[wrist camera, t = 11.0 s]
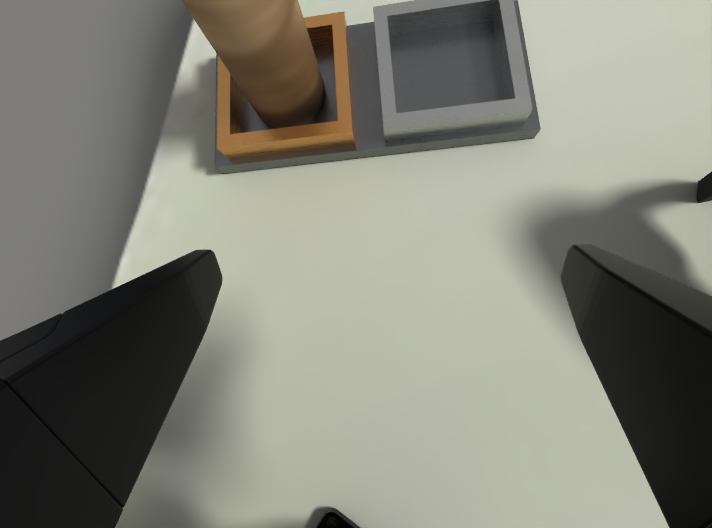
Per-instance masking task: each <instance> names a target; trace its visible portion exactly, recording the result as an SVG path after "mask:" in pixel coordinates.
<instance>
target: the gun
mask: <svg viewBox="0 0 712 528" xmlns="http://www.w3.org/2000/svg"><path fill="white" fill-rule="evenodd" d="M711 200H712V172H710V173H709V174H708V175H706V176H705V177H704V178H702V179H701V180H700V181H698V189H697V202H698V203H701V202H706V201H711Z"/></svg>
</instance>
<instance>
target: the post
mask: <svg viewBox="0 0 712 528" xmlns="http://www.w3.org/2000/svg"><path fill="white" fill-rule="evenodd" d="M182 2H183V3H184V5H185V6H186V8H187V9H188V11H189V12H190V14H191V15H192V17H193V18H194V20H195V21H196V23H197V24H198V26H199V27H200V29H201V30H202V32H203V33H204V35H205V36H206V38H207V39H208V41H209V42H210V44H211V45H212V47H213V48H214V50H215V51H216V53H217V54H218V56H219V57H220V59H221V60H222V62H223V63H224V65H225V66H226V68H227V69H228V71H229V72H230V74H231V75H232V77H233V78H234V80H235V81H236V83H237V84H238V86H239V87H240V89H241V90H242V92H243V93H244V95H245V96H246V98H247V99H248V101H249V102H250V104H251V105H252V107H253V108H254V110H255V111H256V113H257V114H258V116H259V117H260V118H261V119H262V120H263V121H264V122H265V123H266V124H268V125H270V126H272V127H275V128H285V127H293V126H301V125H303V124H305V123H307V122H308V121H309V120H311V119H312V118H313V117H314V116H315V115H316V114H317V113H318V111H319V110H320V108H321V106H322V104H323V101H324V97H325V86H324V82H323V79H322V75H321V72H320V69H319V66H318V63H317V60H316V56H315V53H314V50H313V47H312V44H311V40H310V37H309V34H308V31H307V28H306V25H305V21H304V18H303V15H302V12H301V9H300V6H299V2H298V0H182Z"/></svg>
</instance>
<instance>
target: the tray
mask: <svg viewBox="0 0 712 528" xmlns="http://www.w3.org/2000/svg"><path fill="white" fill-rule="evenodd" d="M373 12H374V22H370V23H364V24H357V25H350V26H347V25H346V19H345V13H344V12H338V13H332V14H325V15H319V16H313V17H306V18H304V21H305V25H306V28H307V31H308V34H309V37H310V40H311V44H312V47H313V50H314V53H315V56H316V60H317V63H318V66H319V69H320V72H321V75H322V79H323V82H324V86H325V97H324V101H323V104H322V106H321V108H320V110H319V111H318V113H317V114H316V115H315V116H314V117H313V118H312V119H311V120H309V121H308V122H307V123H305V124H303V125H301V126H293V127H285V128H275V127H272V126H270V125H268V124H266V123H265V122H264V121H263V120H262V119H261V118H260V117H259V116H258V114H257V113H256V111H255V110H254V108H253V107H252V105H251V104H250V102H249V101H248V99H247V98H246V96H245V95H244V93H243V92H242V90H241V89H240V87H239V86H238V84H237V83H236V81H235V80H234V78H233V77H232V75H231V74H230V72H229V71H228V69H227V68H226V66H225V65H224V63H223V62H222V60H221V59H220V57H219V56H218V54H217V56H216V137H215V167H216V168H217V169H218V170H219V171H220V172H221V173H222V174H225V173H234V172H242V171H251V170H260V169H269V168H277V167H286V166H295V165H303V164H312V163H321V162H330V161H338V160H347V159H356V158H364V157H373V156H382V155H391V154H399V153H408V152H417V151H425V150H434V149H443V148H452V147H460V146H469V145H478V144H486V143H495V142H504V141H513V140H521V139H530V138H535V136H536V135H537V133H538V132H539V131H540V123H539V118H538V112H537V106H536V101H535V95H534V90H533V84H532V78H531V73H530V67H529V61H528V56H527V50H526V45H525V39H524V33H523V28H522V22H521V17H520V11H519V5H518V0H415V1H408V2H402V3H396V4H389V5H383V6H377V7H373Z"/></svg>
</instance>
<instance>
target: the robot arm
mask: <svg viewBox="0 0 712 528" xmlns="http://www.w3.org/2000/svg"><path fill="white" fill-rule="evenodd" d="M561 282H562V285H563V288H564V292H565V295H566V298H567V301H568V304H569V307H570V310H571V313H572V316H573V319H574V322H575V325H576V328H577V331H578V334H579V336H580V338H581V341H582V343H583V345H584V347H585V349H586V352H587V354H588V356H589V358H590V360H591V362H592V364H593V366H594V369H595V371H596V373H597V375H598V377H599V379H600V381H601V383H602V386H603V388H604V390H605V392H606V394H607V396H608V398H609V400H610V402H611V405H612V407H613V409H614V411H615V413H616V415H617V417H618V419H619V422H620V424H621V426H622V428H623V430H624V432H625V434H626V436H627V439H628V441H629V443H630V445H631V447H632V449H633V451H634V453H635V456H636V458H637V460H638V462H639V464H640V466H641V468H642V470H643V473H644V475H645V477H646V479H647V481H648V483H649V485H650V487H651V489H652V492H653V494H654V496H655V498H656V500H657V502H658V504H659V506H660V509H661V511H662V513H663V515H664V517H665V519H666V521H667V523H668V526H669V528H712V296H710V295H707V294H705V293H703V292H700V291H698V290H696V289H693V288H691V287H689V286H686V285H684V284H682V283H679V282H677V281H675V280H672V279H670V278H668V277H666V276H663V275H661V274H659V273H656V272H654V271H652V270H649V269H647V268H645V267H642V266H640V265H638V264H635V263H633V262H631V261H628V260H626V259H624V258H621V257H619V256H617V255H614V254H612V253H610V252H607V251H605V250H603V249H600V248H598V247H596V246H593V245H590V244H576V245H572V246H571V247H570V248H569V250H568V253H567V256H566V260H565V263H564V266H563V270H562V273H561ZM221 285H222V274H221V271H220V268H219V265H218V262H217V259H216V256H215V254H214V252H213V251H211V250H195V251H193V252H191V253H189V254H186V255H184V256H182V257H180V258H178V259H176V260H174V261H172V262H169V263H167V264H165V265H163V266H161V267H159V268H157V269H154V270H152V271H150V272H148V273H146V274H144V275H142V276H140V277H137V278H135V279H133V280H131V281H129V282H127V283H125V284H122V285H120V286H118V287H116V288H114V289H112V290H110V291H108V292H106V293H103V294H101V295H99V296H97V297H95V298H93V299H91V300H88V301H86V302H84V303H82V304H80V305H78V306H76V307H74V308H71V309H69V310H67V311H65V312H64V313H63V314H59V315H56V316H54V317H52V318H50V319H48V320H46V321H44V322H41V323H39V324H37V325H35V326H32V327H30V328H28V329H27V330H24V331H22V332H20V333H17V334H15V335H13V336H10V337H8V338H6V339H3V340H1V341H0V528H115V526H116V524H117V522H118V520H119V517H120V515H121V513H122V511H123V507H124V506H125V504H126V502H127V500H128V498H129V495H130V493H131V491H132V489H133V487H134V485H135V482H136V480H137V478H138V476H139V474H140V472H141V470H142V467H143V465H144V463H145V461H146V459H147V457H148V455H149V452H150V450H151V448H152V446H153V444H154V442H155V440H156V437H157V435H158V433H159V431H160V429H161V427H162V425H163V422H164V420H165V418H166V416H167V414H168V412H169V409H170V407H171V405H172V403H173V401H174V399H175V397H176V394H177V392H178V390H179V388H180V386H181V384H182V382H183V379H184V377H185V375H186V373H187V371H188V369H189V367H190V364H191V362H192V360H193V358H194V356H195V354H196V351H197V349H198V347H199V345H200V343H201V341H202V339H203V336H204V334H205V332H206V329H207V327H208V324H209V321H210V318H211V315H212V312H213V309H214V306H215V303H216V300H217V297H218V294H219V291H220V288H221ZM329 517H333V518H335V520H336V523H335V524H331V523H330V522H329V520H328V518H329ZM316 528H360V527H359V526H357V525H356V524H355V523H353V522H352V521H351V520H350V519H348V518H347V517H346V516H345V515H343V514H342V513H341V512H340V511H338V510H337V509H335V508H331V509H328V510H327V511H326V512H325V514H324V515H323V517H322V519H321V520H320V522H319V524H318V525H317V527H316Z"/></svg>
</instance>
